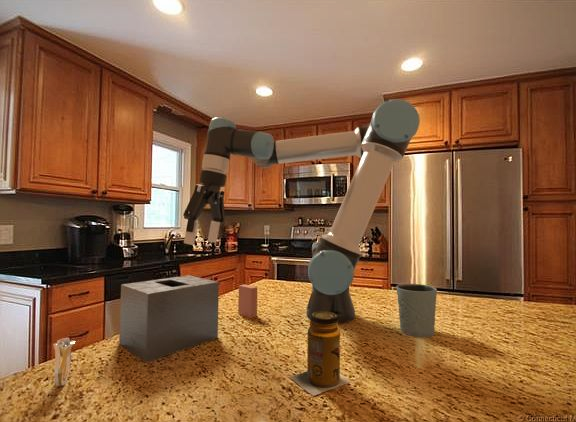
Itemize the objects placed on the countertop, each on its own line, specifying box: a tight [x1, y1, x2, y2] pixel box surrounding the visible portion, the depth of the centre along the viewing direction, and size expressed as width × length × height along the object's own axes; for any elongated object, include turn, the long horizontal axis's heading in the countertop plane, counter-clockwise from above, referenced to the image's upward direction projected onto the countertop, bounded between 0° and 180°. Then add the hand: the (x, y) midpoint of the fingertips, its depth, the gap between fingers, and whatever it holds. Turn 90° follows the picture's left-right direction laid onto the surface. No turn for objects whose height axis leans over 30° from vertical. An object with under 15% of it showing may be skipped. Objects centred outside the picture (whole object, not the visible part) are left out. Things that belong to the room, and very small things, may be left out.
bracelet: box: [53, 337, 76, 387], centre depth 54 cm, size 7×3×8 cm, turn 22°
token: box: [237, 284, 258, 319], centre depth 96 cm, size 6×2×9 cm, turn 49°
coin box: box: [118, 274, 220, 363], centre depth 74 cm, size 14×18×14 cm
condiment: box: [289, 311, 350, 397], centre depth 56 cm, size 7×8×12 cm
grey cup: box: [396, 283, 438, 338], centre depth 83 cm, size 10×10×12 cm
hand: (201, 243), depth 89 cm, fingers open, 13 cm apart
